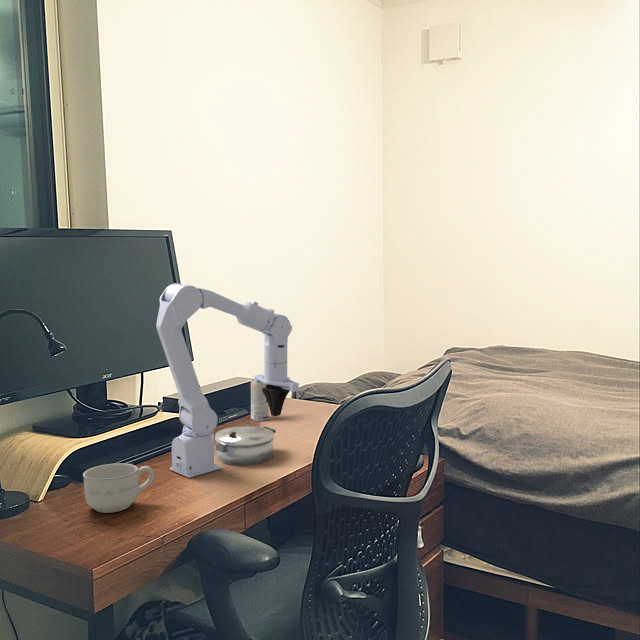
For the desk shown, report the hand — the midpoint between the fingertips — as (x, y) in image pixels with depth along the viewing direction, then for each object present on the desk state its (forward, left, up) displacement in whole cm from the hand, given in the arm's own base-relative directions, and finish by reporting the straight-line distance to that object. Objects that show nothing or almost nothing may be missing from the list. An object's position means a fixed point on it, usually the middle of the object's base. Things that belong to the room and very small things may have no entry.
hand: (275, 415), depth 175 cm
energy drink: (+20, +30, -11) cm, 38 cm away
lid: (-5, +5, -6) cm, 9 cm away
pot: (-6, +5, -10) cm, 13 cm away
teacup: (-45, -3, -11) cm, 46 cm away
